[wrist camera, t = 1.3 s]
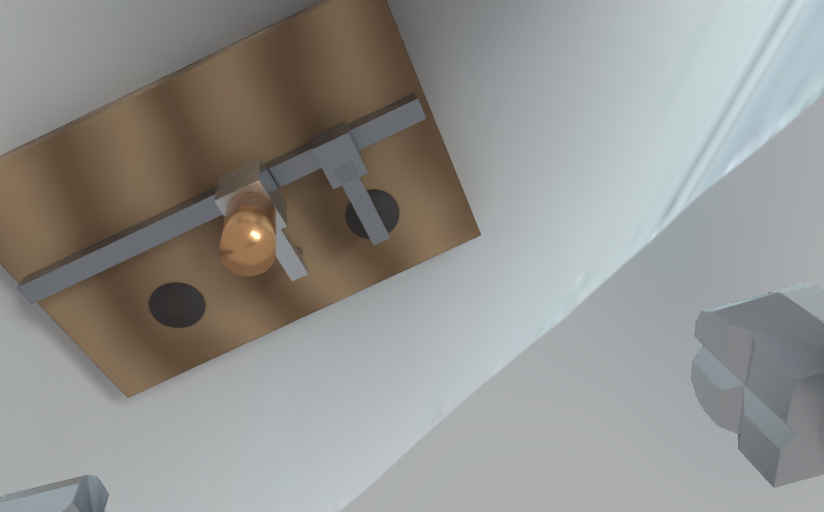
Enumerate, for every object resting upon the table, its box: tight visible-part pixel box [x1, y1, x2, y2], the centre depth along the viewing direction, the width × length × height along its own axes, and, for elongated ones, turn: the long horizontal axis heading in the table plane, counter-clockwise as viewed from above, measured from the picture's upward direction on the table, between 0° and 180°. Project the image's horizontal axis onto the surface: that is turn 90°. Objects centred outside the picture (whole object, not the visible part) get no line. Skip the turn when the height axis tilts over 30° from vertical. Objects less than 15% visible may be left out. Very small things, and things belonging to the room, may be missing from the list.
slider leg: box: [214, 159, 308, 281], centre depth 31 cm, size 2×7×8 cm, turn 23°
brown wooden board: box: [0, 0, 481, 398], centre depth 36 cm, size 25×16×2 cm, turn 113°
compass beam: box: [17, 93, 426, 304], centre depth 34 cm, size 24×6×3 cm, turn 113°
